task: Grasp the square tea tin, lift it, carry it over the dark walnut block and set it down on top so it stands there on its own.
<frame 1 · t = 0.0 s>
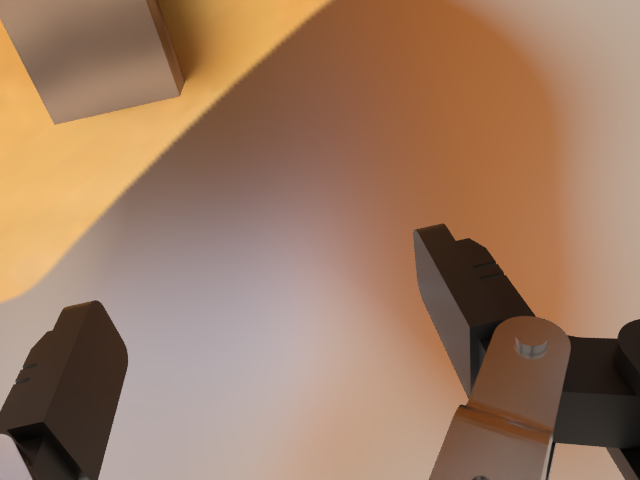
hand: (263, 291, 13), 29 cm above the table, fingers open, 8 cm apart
walnut block: (103, 32, 36), on the table
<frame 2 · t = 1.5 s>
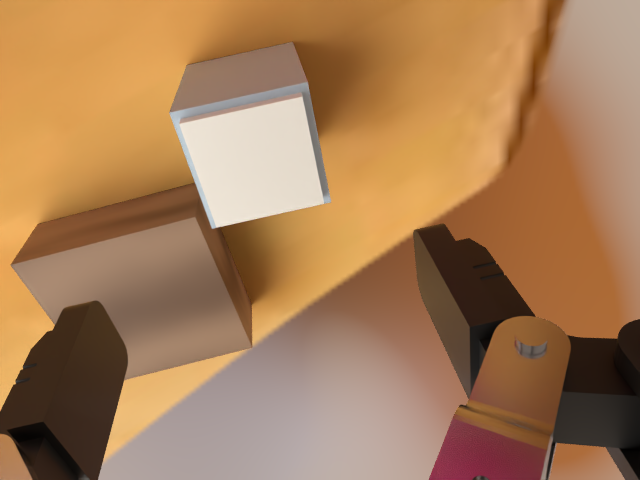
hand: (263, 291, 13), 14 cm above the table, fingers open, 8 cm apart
walnut block: (154, 264, 29), on the table
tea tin: (253, 105, 24), on the table
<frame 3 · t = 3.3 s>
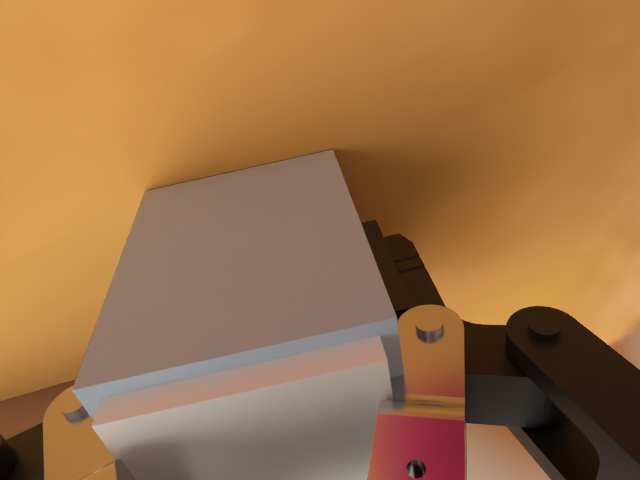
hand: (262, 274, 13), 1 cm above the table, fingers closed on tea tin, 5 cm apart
walnut block: (109, 457, 19), on the table
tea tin: (262, 247, 14), on the table, touching gripper
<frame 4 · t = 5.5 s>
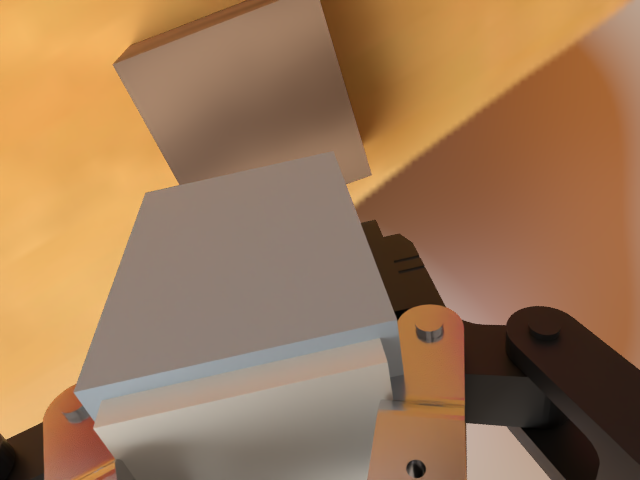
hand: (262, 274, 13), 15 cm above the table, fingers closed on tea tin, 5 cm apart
walnut block: (253, 98, 26), on the table
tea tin: (262, 248, 14), point 14 cm above the table, touching gripper
when the fingers open (6 cm above the table, at t = 8.0 s): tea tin drops 1 cm, resting on walnut block.
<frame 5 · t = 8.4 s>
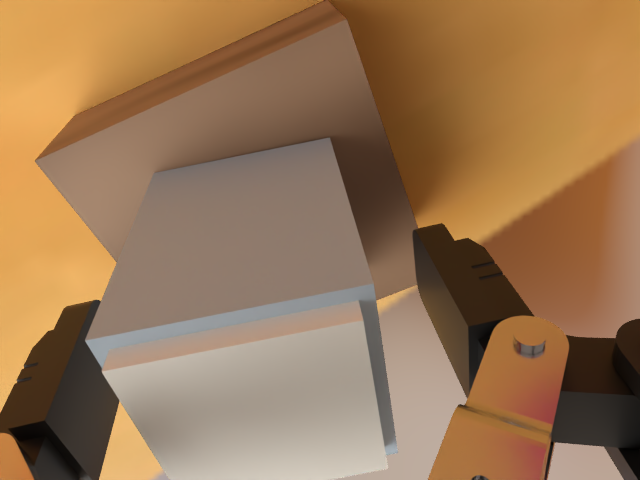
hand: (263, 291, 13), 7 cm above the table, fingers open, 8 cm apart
walnut block: (258, 171, 19), on the table, touching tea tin
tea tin: (262, 229, 15), point 4 cm above the table, touching walnut block
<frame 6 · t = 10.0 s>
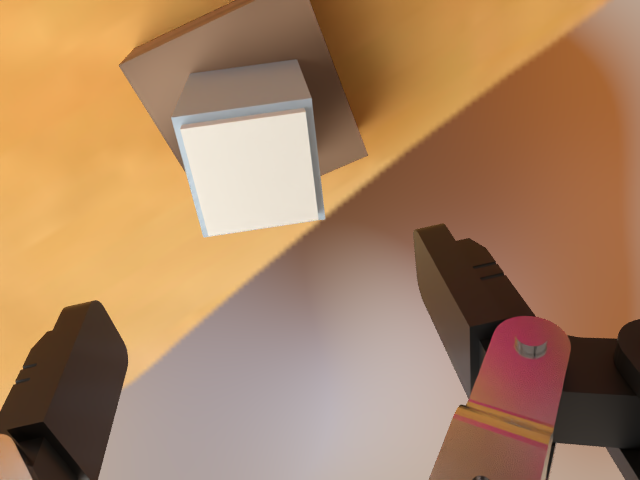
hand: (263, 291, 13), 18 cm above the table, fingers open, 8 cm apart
walnut block: (252, 91, 28), on the table
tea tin: (253, 118, 24), point 4 cm above the table
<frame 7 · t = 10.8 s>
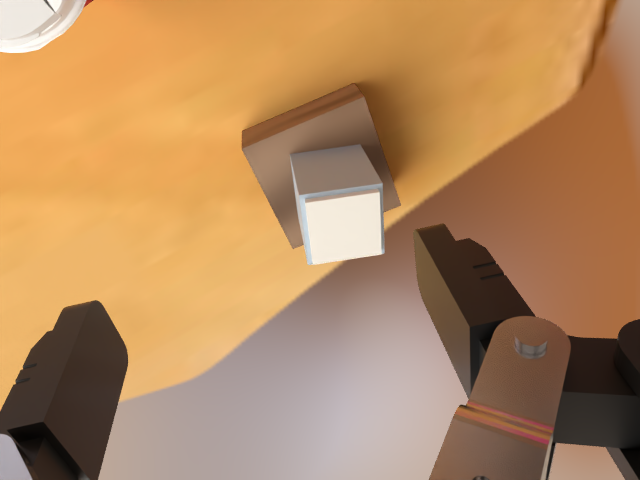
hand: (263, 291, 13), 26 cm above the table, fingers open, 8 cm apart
walnut block: (318, 157, 39), on the table
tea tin: (328, 181, 36), point 4 cm above the table
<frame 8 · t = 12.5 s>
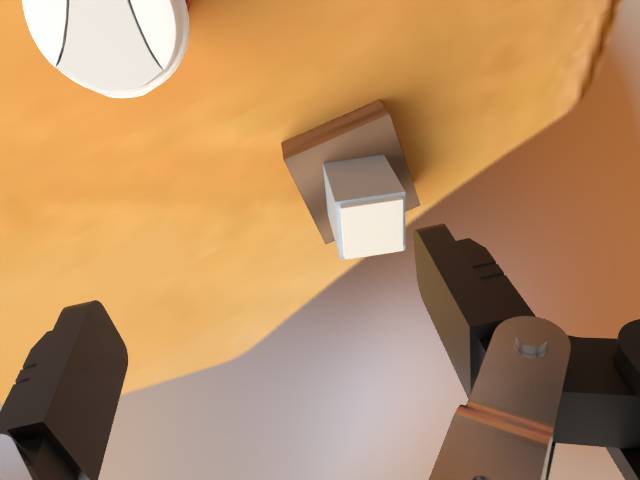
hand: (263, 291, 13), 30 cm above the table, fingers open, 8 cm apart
walnut block: (347, 163, 45), on the table, touching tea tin
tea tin: (355, 186, 41), point 4 cm above the table, touching walnut block
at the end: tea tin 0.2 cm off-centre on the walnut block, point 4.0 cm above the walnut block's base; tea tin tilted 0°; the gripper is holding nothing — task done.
